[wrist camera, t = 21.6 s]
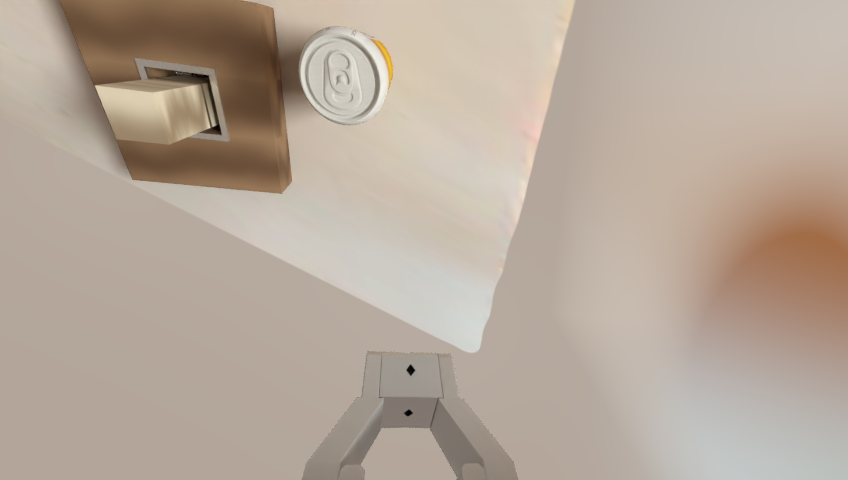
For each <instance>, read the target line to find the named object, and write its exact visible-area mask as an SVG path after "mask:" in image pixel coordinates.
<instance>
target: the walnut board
mask: <svg viewBox="0 0 848 480" xmlns="http://www.w3.org/2000/svg"><path fill="white" fill-rule="evenodd" d="M60 3H61V5H62V8H63V10H64V13H65V15H66V18H67V20H68V23H69V25H70V27H71V30H72V32H73V35H74V37H75V40H76V42H77V45H78V47H79V49H80V52H81V54H82V57H83V59H84V62H85V64H86V67H87V69H88V72H89V74H90V76H91V79H92V81H93V84H94V86H95V85H102V84H110V83H119V82H127V81H136V80H144V79H152V78H161V77H169V76H176V73H175V71H182V72H189V73H196V74H204V75H209V79H210V83H211V88H212V92H213V97H214V101H215V106H216V110H217V115H218V119H219V124H218V125H216V126H214V127H212V128H209V129H206V130H204V131H201V132H199V133H196V134H194V135H192V136H189V137H187V138H184V139H182V140H179V141H177V142H175V143H172V144H170V145H167V144H158V143H148V142H139V141H130V140H121V139H116V140H117V143H118V145H119V148H120V150H121V152H122V155H123V157H124V160H125V162H126V165H127V167H128V170H129V172H130V175H131V177H132V179H133V180H141V181H151V182H162V183H173V184H184V185H194V186H205V187H216V188H226V189H237V190H248V191H259V192H269V193H280V194H282V193H283V191H284V190H285V189H286V188H287V187H288V185H289V184H290V183H291V182H292V175H291V166H290V157H289V148H288V139H287V129H286V120H285V111H284V102H283V93H282V84H281V74H280V65H279V56H278V47H277V38H276V28H275V19H274V10H273V8H271V7H268V6H264V5H261V4H258V3H253V2H247V1H241V0H60ZM95 89H96V87H95ZM96 91H97V90H96ZM97 94H98V92H97ZM98 96H99V95H98ZM99 99H100V97H99ZM100 101H101V100H100ZM101 103H102V102H101ZM102 106H103V105H102ZM103 108H104V107H103ZM104 111H105V110H104ZM105 113H106V112H105ZM106 116H107V115H106ZM107 118H108V117H107ZM108 121H109V119H108ZM109 123H110V122H109ZM110 126H111V124H110ZM111 128H112V127H111ZM112 130H113V129H112ZM113 133H114V132H113ZM114 135H115V134H114ZM115 138H116V137H115Z"/></svg>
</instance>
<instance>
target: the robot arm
mask: <svg viewBox="0 0 848 480" xmlns="http://www.w3.org/2000/svg"><path fill="white" fill-rule="evenodd" d="M381 359H382V360H381ZM399 427H409V428H430V430H431V432H432V434H433V435H434V437H435V439H436V441H437V442H438V444H439V446H440V448H441V449H442V451H443V453H444V455H445V457H446V458H447V460H448V462H449V464H450V466H451V467H452V469H453V471H454V472H455V474H456V476H457V480H518V477H517V473H516V470H515V466H514V462H513V461H512V459H511V458H510V457H509V456H508V454H507V453H506V452H505V451H504V450H503V448H502V447H501V445H500V444H499V443H498V442H497V440H496V439H495V438H494V437H493V435H492V434H491V433H490V432H489V430H488V429H487V428H486V427H485V425H484V424H483V423H482V421H481V420H480V419H479V418H478V416H477V415H476V414H475V413H474V411H473V410H472V409H471V408H470V406H469V405H468V404H467V403H466V401H465V400H464V399H459V393H458V386H457V381H456V375H455V368H454V363H453V357H452V355H451V354H437V353H398V352H381V351H380V352H378V351H368V352H367V355H366V364H365V372H364V380H363V389H362V397H357V398H356V399H355V401H354V402H353V403H352V405H351V406H350V407H349V409H348V410H347V411H346V412H345V414H344V415H343V416H342V418H341V419H340V420H339V422H338V423H337V424H336V425H335V427H334V428H333V429H332V430H331V432H330V433H329V434H328V436H327V437H326V438H325V440H324V441H323V442H322V444H321V445H320V446H319V447H318V449H317V450H316V452H314V454H313V455H312V456H311V458H310V459H309V460H308V462H307V463H306V466H305V470H304V474H303V478H302V480H364V474H365V470H364V469H363V467H362V466H361V465H360V464H361V463H362V461H363V459H364V458H365V456H366V454H367V452H368V451H369V449H370V447H371V446H372V444H373V442H374V440H375V439H376V437H377V435H378V433H379V432H380V430H381V428H399Z"/></svg>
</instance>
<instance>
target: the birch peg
mask: <svg viewBox="0 0 848 480" xmlns="http://www.w3.org/2000/svg"><path fill="white" fill-rule="evenodd" d="M95 87H96V90H97V92H98V95H99V97H100V100H101V102H102V105H103V107H104V110H105V112H106V115H107V117H108V119H109V122H110V124H111V127H112V129H113V132H114V134H115V137H116V139H121V140H130V141H139V142H148V143H158V144H167V145H170V144H172V143H175V142H177V141H179V140H182V139H184V138H187V137H189V136H192V135H194V134H196V133H199V132H201V131H204V130H206V129H209V128H212V127H214V126H216V125H218V124H219V119H218V115H217V110H216V106H215V101H214V97H213V92H212V88H211V83H210V79H209V78H205V77H198V76H190V75H178V76H169V77H161V78H152V79H144V80H136V81H127V82H119V83H110V84H102V85H95Z"/></svg>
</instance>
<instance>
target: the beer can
mask: <svg viewBox="0 0 848 480" xmlns="http://www.w3.org/2000/svg"><path fill="white" fill-rule="evenodd" d="M392 76H393V65H392V60H391V57H390V55H389V53H388V51H387V49H386V48H385V46H384V45H383V44H382V43H381V42H380V41H379V40H377V39H376V38H374V37H372V36H369V35H367V34H364V33H361V32H358V31H356V30H353V29H350V28H346V27H340V26H334V27H328V28H325V29H322V30H320V31H318V32H317V33H315V34H314V35H313V36H312V37H311V38H310V39H309V40H308V41H307V42H306V44H305V46H304V48H303V50H302V52H301V55H300V60H299V78H300V83H301V87H302V89H303V92H304V94H305V96H306V98H307V100H308V101H309V103H310V104H311V105H312V107H313V108H314V109H315V110H316V111H317V112H318V113H319V114H321V115H322V116H323V117H325V118H326V119H328V120H330V121H332V122H335V123H338V124H342V125H357V124H361V123H363V122H366V121H367V120H369V119H371V118H372V117H373V116H374V115H375V114H376V113H377V112H378V111H379V110H380V108H381V107H382V105H383V103H384V100H385V98H386V95H387V92H388V89H389V86H390V83H391V80H392Z"/></svg>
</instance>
